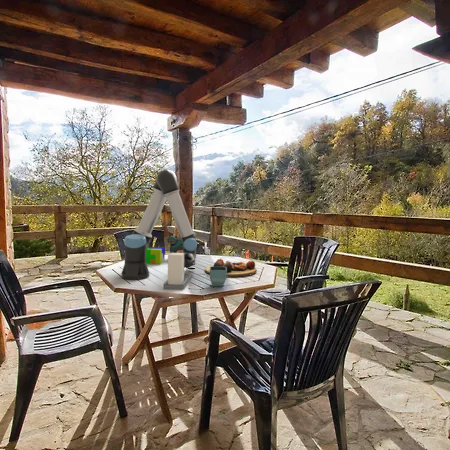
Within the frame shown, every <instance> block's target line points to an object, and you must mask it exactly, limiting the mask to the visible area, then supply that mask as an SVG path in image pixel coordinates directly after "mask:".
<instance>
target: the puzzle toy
mask: <svg viewBox="0 0 450 450" xmlns="http://www.w3.org/2000/svg"><path fill="white" fill-rule="evenodd" d="M165 255H166V254H165V247H159V246H158V247H157V246H156V247H155V246H153V247H151V246H150V247H148V248H147V250H146V264H147V265H162V264H163V263H164V261H165V260H166V259H165V257H166V256H165ZM161 263H162V264H161Z"/></svg>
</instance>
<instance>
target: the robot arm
mask: <svg viewBox="0 0 450 450" xmlns="http://www.w3.org/2000/svg"><path fill="white" fill-rule="evenodd" d="M152 189H153V193H152V195H151V198H150V200H149V201H148V204H147V206H146V209H145V211H144V212H143V213H144V214H143V215H142V218H141V220H140V222H139V224H138V227H136V228H134V229H133V232H132V234H128V235H126V236H125V237H124V241H123V244H124V246H123V248H124V265H123V268H122V271H121V279H124V280H128V281H130V280H132V281H133V280H134V281H135V280H143V279H147V278H149V277H150V271H149V268H148V264H146V250H147V249H148V248H149V245H150V243H151V241H152V239H153V235H152V232H153V229H154V228H155V225H156V223H157V221H158V219H159V218H160V215H161V212H162V210H163V208H164V206H165V204H166V202H167V204H168V206H169V208H170V209H169V210H170V212H171V214H172V217H173V220H174V223H175V225H176V228H177V230H178V231H177V232H179V235H180V238H181V239H182V242H183V250H182V253H184V269H189V268H191V267H193V266H196V258H197V253H196V249H197V247H198V241H197V240H196V232H195V231H193V228H192V226H191V222H190V221H189V217H188V214H187V212H186V209H185V206H184V204H183V200H182V198H181V195H180V187H179V185H178V177H177V174H175V172H174V171H172V170H171V169H163V170H161V171H159V173H158V174H157V175H156V181H155V183H154V185H153V187H152Z"/></svg>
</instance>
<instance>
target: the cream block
mask: <svg viewBox="0 0 450 450" xmlns="http://www.w3.org/2000/svg"><path fill="white" fill-rule="evenodd" d="M184 275H185V268H184V253H183V252H176V253H170V252H169V253H168V254H167V279H168V284H171V285H182V283H183V282H184Z"/></svg>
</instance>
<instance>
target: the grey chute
mask: <svg viewBox="0 0 450 450" xmlns="http://www.w3.org/2000/svg"><path fill="white" fill-rule="evenodd" d="M192 279H193V272H190V273H188V274H184V282H183V283H182V285H171V284H168V278H167V279H166V280H165V282H163V290H182V289H184V290H185V289H186V288H187V286H188V284H189V283H190V282H191V280H192Z"/></svg>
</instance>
